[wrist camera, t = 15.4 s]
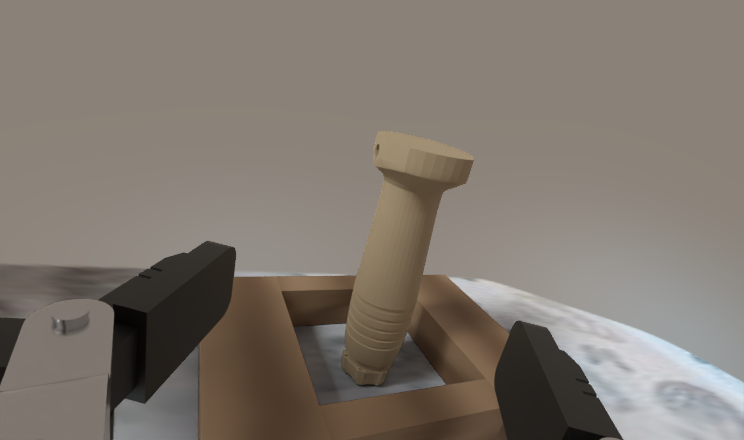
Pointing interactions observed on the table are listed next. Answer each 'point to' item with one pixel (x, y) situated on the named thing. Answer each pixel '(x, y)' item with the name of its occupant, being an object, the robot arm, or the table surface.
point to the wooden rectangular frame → (356, 417)
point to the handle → (397, 248)
